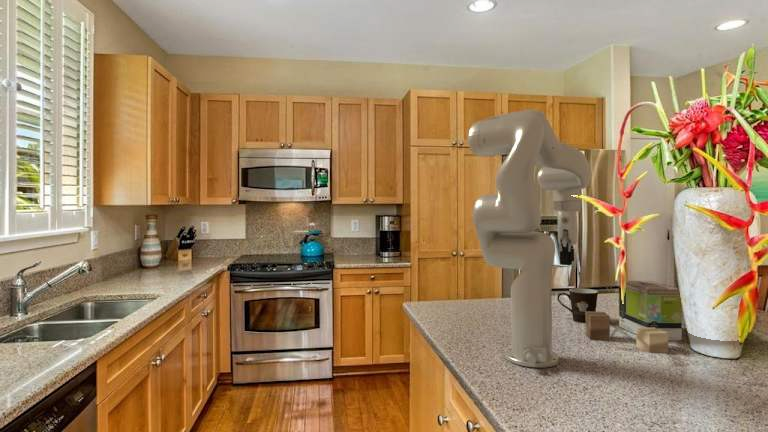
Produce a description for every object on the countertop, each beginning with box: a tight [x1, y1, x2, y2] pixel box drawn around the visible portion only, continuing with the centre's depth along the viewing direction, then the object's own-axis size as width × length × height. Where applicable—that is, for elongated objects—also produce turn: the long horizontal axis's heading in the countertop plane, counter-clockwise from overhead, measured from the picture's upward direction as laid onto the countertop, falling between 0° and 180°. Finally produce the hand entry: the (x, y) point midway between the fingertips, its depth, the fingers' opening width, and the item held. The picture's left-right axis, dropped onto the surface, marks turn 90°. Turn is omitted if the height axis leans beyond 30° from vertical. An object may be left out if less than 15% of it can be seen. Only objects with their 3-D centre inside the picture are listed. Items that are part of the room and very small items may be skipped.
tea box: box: [618, 280, 683, 342], centre depth 123 cm, size 15×10×15 cm, turn 179°
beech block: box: [635, 327, 669, 353], centre depth 110 cm, size 5×5×5 cm
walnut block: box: [585, 311, 611, 342], centre depth 120 cm, size 5×5×7 cm
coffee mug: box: [556, 287, 599, 324], centre depth 139 cm, size 12×9×10 cm
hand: (567, 262), depth 128 cm, fingers open, 9 cm apart
